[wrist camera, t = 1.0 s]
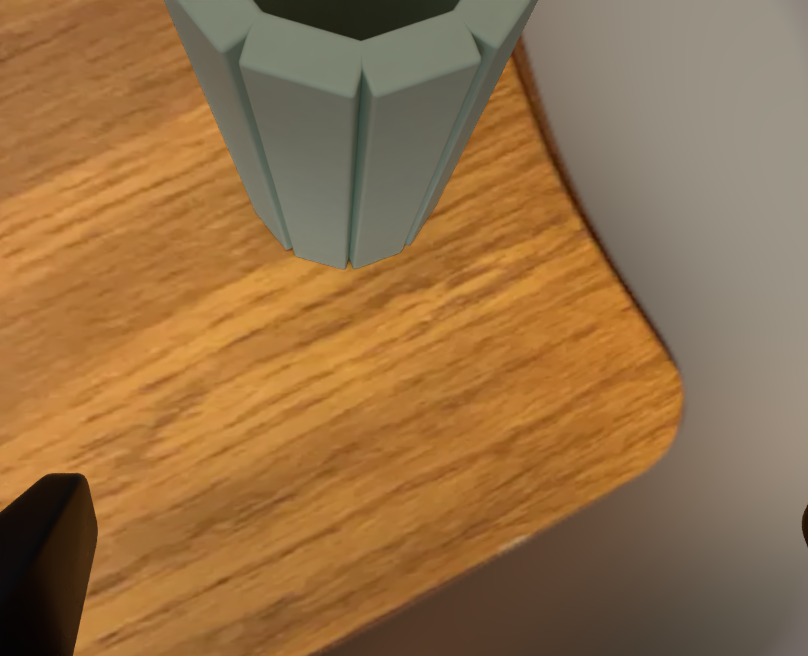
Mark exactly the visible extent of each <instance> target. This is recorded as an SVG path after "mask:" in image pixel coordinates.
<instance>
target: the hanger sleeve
mask: <svg viewBox="0 0 808 656" xmlns="http://www.w3.org/2000/svg"><path fill="white" fill-rule="evenodd" d="M537 1H538V0H164V2H165V4H166V7H167V9H168V11H169V14H170V16H171V18H172V21H173V23H174V25H175V28H176V30H177V32H178V34H179V37H180V39H181V41H182V44H183V46H184V48H185V51H186V53H187V55H188V58H189V60H190V62H191V64H192V67H193V69H194V71H195V74H196V76H197V78H198V81H199V83H200V85H201V88H202V90H203V92H204V94H205V97H206V99H207V101H208V104H209V106H210V108H211V111H212V113H213V115H214V117H215V120H216V122H217V124H218V127H219V129H220V131H221V134H222V136H223V138H224V141H225V143H226V145H227V147H228V150H229V152H230V154H231V157H232V159H233V161H234V164H235V166H236V168H237V171H238V173H239V175H240V177H241V180H242V182H243V184H244V187H245V189H246V191H247V194H248V196H249V198H250V201H251V203H252V205H253V207H254V210H255V212H256V214H257V215H258V216H259V217H260V219H261V220H262V221H263V222H264V224H265V225H266V226H267V227H268V228H269V230H270V231H271V232H272V233H273V235H274V236H275V237H276V238H277V240H278V241H279V242H280V243H281V245H282V246H283V247H284V248H285V249H286V250H289V249H291V248H292V247H293V250H294V254H295V256H296V257H300V258H303V259H307V260H310V261H314V262H318V263H321V264H325V265H329V266H332V267H336V268H340V269H345V268H346V266H347V262H348V259H350V261H351V264H352V267H353V268H354V269H357V268H360V267H363V266H365V265H368V264H371V263H374V262H376V261H379V260H382V259H384V258H387V257H390V256H393V255H395V254H398V253H400V252H402V249H403V247H404V245H405V244H406V245H408V246H409V245H411V243H412V242H413V240H414V239H415V237H416V235H417V234H418V232H419V231H420V229H421V228H422V226H423V225H424V223H425V222H426V220H427V219H428V217H429V216H430V214H431V213H432V211H433V210H434V208H435V207H436V205H437V203H438V201H439V199H440V197H441V195H442V193H443V191H444V188H445V186H446V184H447V182H448V180H449V178H450V176H451V174H452V172H453V170H454V168H455V166H456V164H457V162H458V160H459V158H460V156H461V154H462V152H463V150H464V148H465V146H466V144H467V142H468V140H469V138H470V136H471V134H472V132H473V130H474V128H475V126H476V124H477V122H478V120H479V118H480V116H481V114H482V112H483V110H484V108H485V106H486V104H487V102H488V100H489V98H490V96H491V94H492V92H493V90H494V88H495V86H496V84H497V82H498V80H499V78H500V76H501V74H502V72H503V70H504V67H505V65H506V63H507V61H508V59H509V57H510V55H511V53H512V51H513V49H514V47H515V45H516V43H517V41H518V39H519V37H520V35H521V33H522V31H523V29H524V27H525V25H526V23H527V21H528V19H529V17H530V15H531V13H532V11H533V9H534V6H535V5H536V3H537Z"/></svg>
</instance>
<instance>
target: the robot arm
mask: <svg viewBox="0 0 808 656" xmlns="http://www.w3.org/2000/svg"><path fill="white" fill-rule="evenodd" d="M802 531H803V535H804V538H805V541H806V543H807V546H808V505H807V507H806V509H805V511H804V514H803V518H802ZM97 535H98V528H97V520H96V516H95V511H94V507H93V502H92V498H91V493H90V489H89V485H88V481H87V479H86V478H85V476H84V475H82V474H79V473H52V474H48V475H45V476H44V477H42V478H41V479H40V480H38V481H37V482H36V483H35V484H34V485H32V486H31V487H30V488H29V489H28V490H26V491H25V492H24V493H23V494H22V495H20V496H19V497H18V498H17V499H16V500H14V501H13V502H12V503H11V504H10V505H8V506H7V507H6V508H5V509H4V510H2V511H1V512H0V656H73V652H74V648H75V643H76V639H77V634H78V629H79V624H80V620H81V615H82V610H83V605H84V601H85V596H86V591H87V586H88V582H89V577H90V572H91V567H92V563H93V558H94V553H95V548H96V543H97Z"/></svg>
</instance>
